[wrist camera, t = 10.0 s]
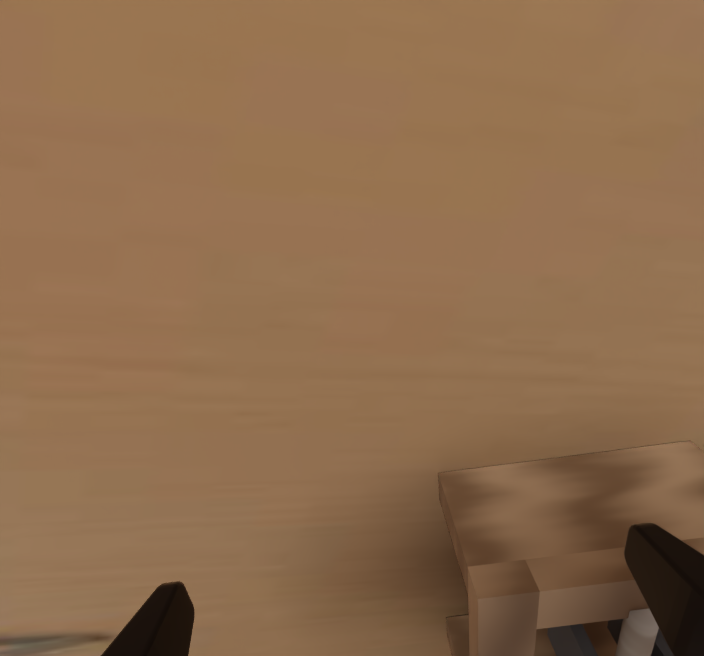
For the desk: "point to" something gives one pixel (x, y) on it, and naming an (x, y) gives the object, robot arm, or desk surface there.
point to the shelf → (564, 545)
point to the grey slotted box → (577, 648)
